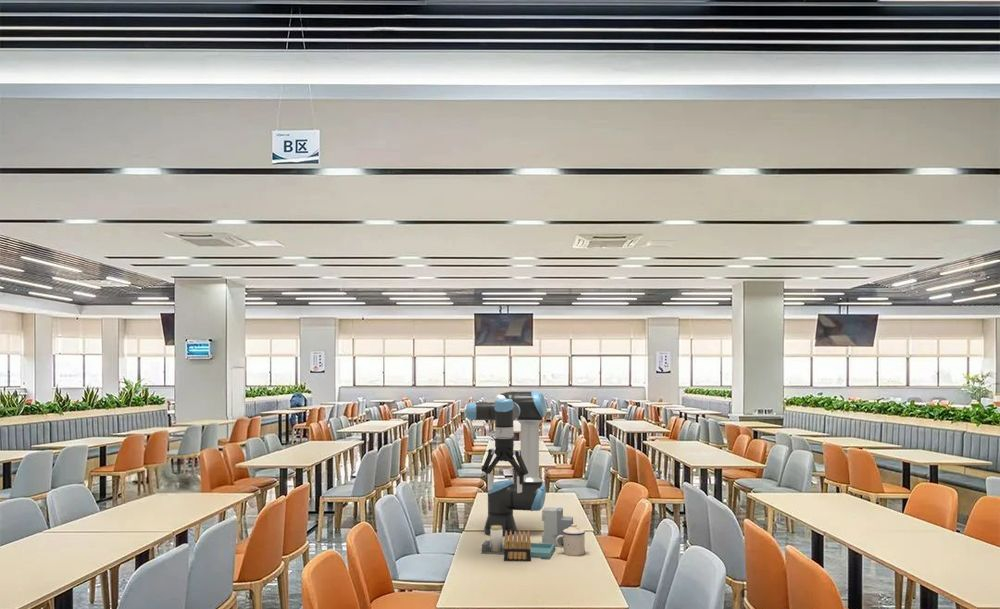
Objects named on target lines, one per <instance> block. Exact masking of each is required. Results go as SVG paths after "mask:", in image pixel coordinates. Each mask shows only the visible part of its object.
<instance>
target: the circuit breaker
mask: <svg viewBox="0 0 1000 609" xmlns="http://www.w3.org/2000/svg"><path fill="white" fill-rule="evenodd" d="M541 512H542V513H541V521H542V522H543V533H542V534H541V543H545V544H555V548H560V547H559V546H558V545H557V543H556V538H557V536H559V535H563V530H564V529H567V528H569V527H571V525H572V524H574V517H573V516H564V507H555V506H554V507H550V506H544V508H542V509H541ZM576 527H578V526H577V524H576ZM558 544H559V545H561V546H563V545H564V541H563V537H560V538H558Z"/></svg>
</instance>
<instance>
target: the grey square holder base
mask: <svg viewBox="0 0 1000 609" xmlns="http://www.w3.org/2000/svg"><path fill="white" fill-rule="evenodd" d="M508 548H509V541H508ZM480 554H481V555H496V556H498V555H499V556H501V555H502V556H504V544H503V548H502V551H501V552H492V551H491V540H485V541H484V542H483V543H482V544H481V553H480ZM508 554H509V552H508Z"/></svg>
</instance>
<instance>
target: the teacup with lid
mask: <svg viewBox="0 0 1000 609" xmlns="http://www.w3.org/2000/svg"><path fill="white" fill-rule="evenodd" d="M576 525H577V524H576V523H573V524H572V525H571V527H569V528H567V529H564V530H563V535H559V536H557V538H556V543H557V545H558V546H559V547H558V548H561V549H563V554H565V555H567V556H571V557H572V556H574V557H575V556H577V557H578V556H584V554H585V553H586V551H585V550H586V549H585V544H586V543H585V542H586V538H585V534H586V531H585V530H584V529H582V528H580V527H579V526H576ZM560 537H563V545H562V546H561V545H559V544H558V538H560Z"/></svg>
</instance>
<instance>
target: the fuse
mask: <svg viewBox="0 0 1000 609" xmlns="http://www.w3.org/2000/svg"><path fill="white" fill-rule="evenodd" d="M489 536H490V537H489V538H490V547H491V551H492V552H501V551H502V548H503V545H504V544H503V543H504V541H503V537H504V536H503V531H502V526H501V525H492V526H491V529H490V535H489Z"/></svg>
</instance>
